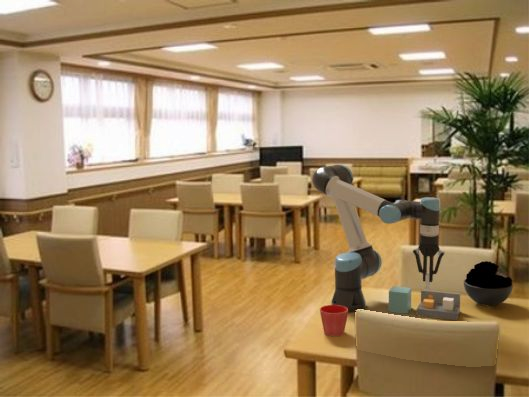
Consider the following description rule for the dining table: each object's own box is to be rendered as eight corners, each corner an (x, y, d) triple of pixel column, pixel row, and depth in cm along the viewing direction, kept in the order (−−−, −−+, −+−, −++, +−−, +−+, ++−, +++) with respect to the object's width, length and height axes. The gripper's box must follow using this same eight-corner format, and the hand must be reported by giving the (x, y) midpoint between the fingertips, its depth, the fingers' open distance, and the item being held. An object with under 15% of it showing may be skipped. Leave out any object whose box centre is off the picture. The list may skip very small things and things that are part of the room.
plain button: (442, 311, 227) (442, 300, 226) (443, 308, 231) (444, 297, 230) (452, 312, 225) (452, 301, 225) (453, 309, 229) (453, 298, 228)
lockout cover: (388, 311, 235) (388, 291, 234) (392, 305, 242) (392, 286, 241) (407, 313, 232) (407, 293, 230) (411, 307, 239) (411, 287, 238)
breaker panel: (416, 315, 229) (416, 297, 228) (421, 307, 239) (421, 289, 238) (456, 320, 222) (457, 301, 221) (459, 311, 232) (460, 293, 231)
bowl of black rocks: (503, 297, 249) (504, 257, 246) (519, 312, 229) (520, 269, 227) (458, 297, 251) (458, 257, 248) (470, 312, 231) (471, 269, 229)
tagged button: (422, 312, 231) (422, 301, 230) (424, 309, 234) (424, 298, 234) (432, 313, 229) (432, 302, 228) (434, 310, 233) (434, 299, 232)
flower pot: (329, 325, 220) (329, 302, 219) (353, 331, 213) (353, 307, 212) (314, 333, 212) (314, 309, 211) (339, 340, 205) (338, 315, 204)
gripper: (411, 235, 227) (410, 289, 230) (444, 237, 221) (442, 293, 225) (415, 231, 234) (413, 284, 237) (446, 234, 228) (444, 288, 231)
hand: (427, 289), depth 231 cm, fingers closed
